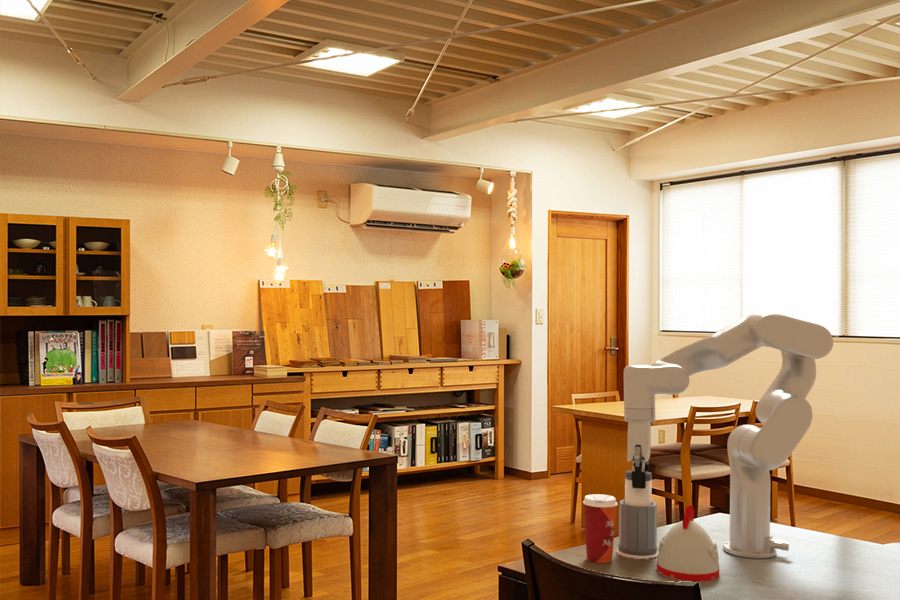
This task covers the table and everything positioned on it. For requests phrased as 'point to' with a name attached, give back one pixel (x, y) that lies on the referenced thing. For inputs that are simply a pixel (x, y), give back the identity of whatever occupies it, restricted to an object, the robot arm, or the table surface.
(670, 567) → the kitchen timer
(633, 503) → the plunger
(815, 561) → the table surface
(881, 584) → the table surface
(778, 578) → the table surface
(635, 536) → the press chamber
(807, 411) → the robot arm
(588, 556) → the coffee cup
